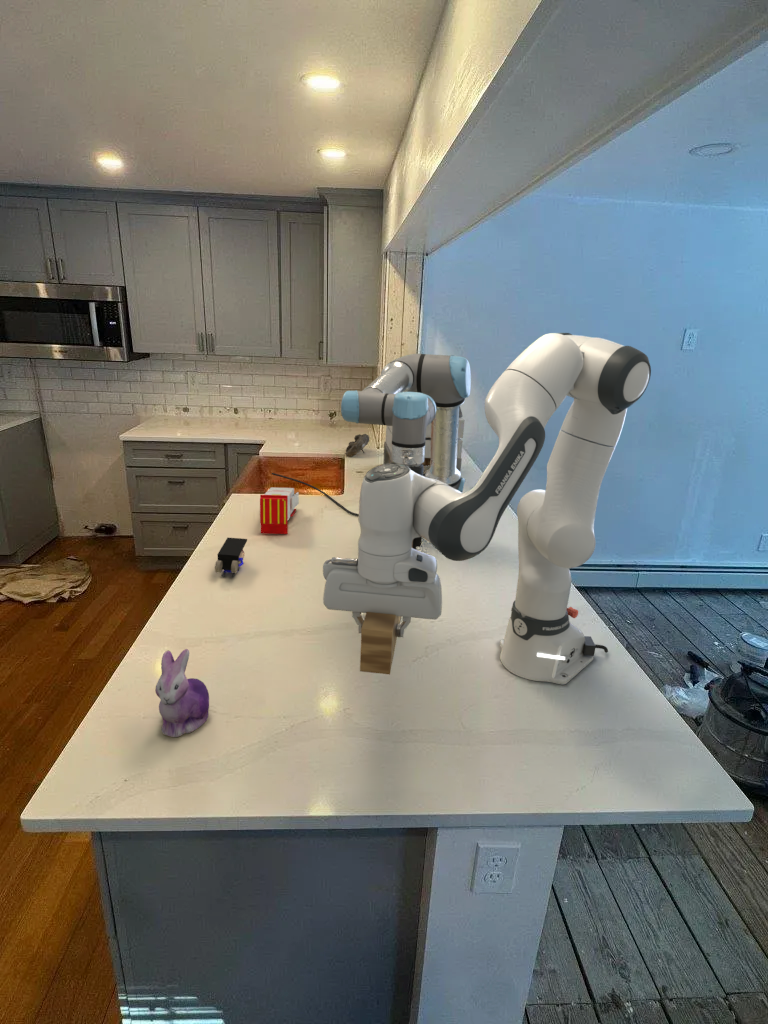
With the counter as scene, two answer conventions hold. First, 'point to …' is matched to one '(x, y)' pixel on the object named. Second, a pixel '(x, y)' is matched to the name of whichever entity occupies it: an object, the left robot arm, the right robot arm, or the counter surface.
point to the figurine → (180, 697)
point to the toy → (277, 510)
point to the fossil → (357, 445)
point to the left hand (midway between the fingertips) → (401, 556)
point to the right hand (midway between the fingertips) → (381, 633)
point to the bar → (378, 642)
